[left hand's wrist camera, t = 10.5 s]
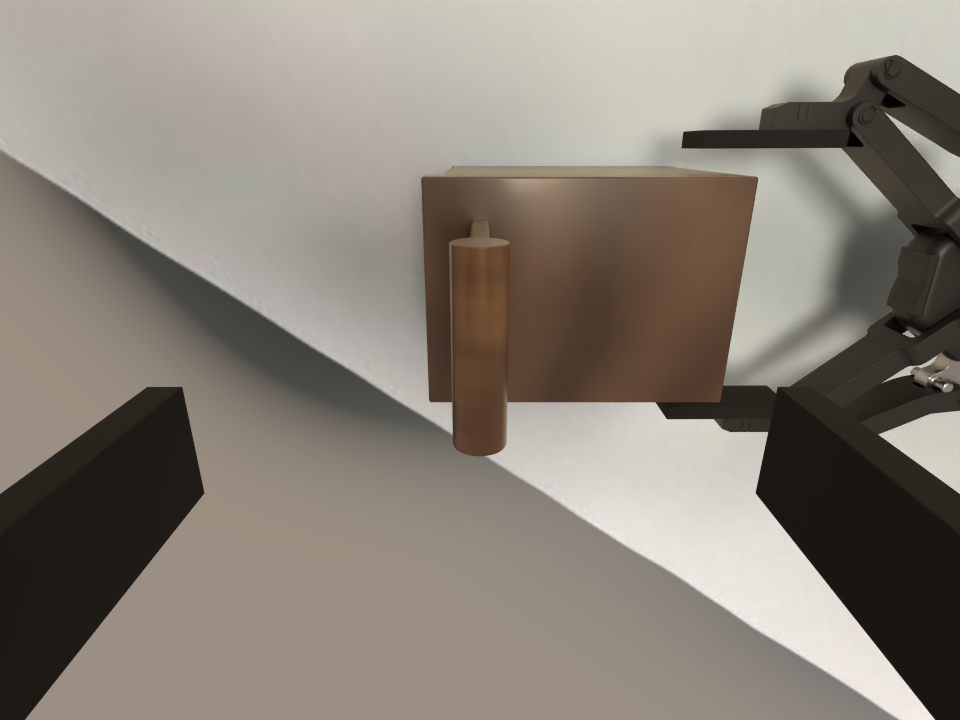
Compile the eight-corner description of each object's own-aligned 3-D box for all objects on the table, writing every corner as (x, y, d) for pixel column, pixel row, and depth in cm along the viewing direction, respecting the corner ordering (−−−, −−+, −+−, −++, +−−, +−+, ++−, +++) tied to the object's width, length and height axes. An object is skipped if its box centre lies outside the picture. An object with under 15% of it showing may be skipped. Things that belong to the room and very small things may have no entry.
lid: (431, 391, 27) (410, 496, 19) (423, 175, 24) (394, 190, 15) (710, 391, 27) (807, 496, 19) (745, 175, 24) (883, 191, 15)
